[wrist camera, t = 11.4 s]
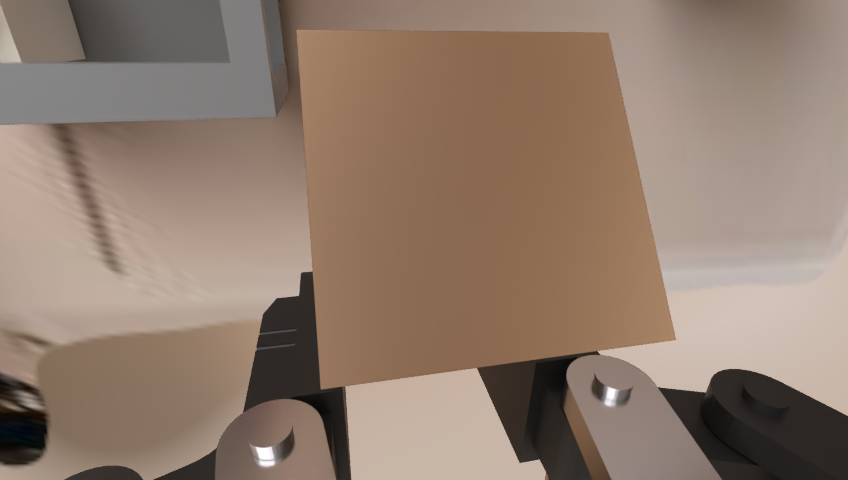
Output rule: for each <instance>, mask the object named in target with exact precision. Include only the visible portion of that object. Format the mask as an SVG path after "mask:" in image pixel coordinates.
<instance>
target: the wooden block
mask: <svg viewBox="0 0 848 480" xmlns="http://www.w3.org/2000/svg"><path fill="white" fill-rule="evenodd" d="M297 45H298V60H299V74H300V89H301V104H302V119H303V134H304V148H305V163H306V178H307V193H308V208H309V222H310V237H311V252H312V267H313V282H314V296H315V311H316V326H317V341H318V356H319V370H320V385H321V389H329V388H336V387H343V386H350V385H357V384H364V383H371V382H379V381H386V380H393V379H400V378H407V377H414V376H421V375H429V374H436V373H443V372H450V371H457V370H463V369H471V368H479V367H486V366H493V365H500V364H507V363H514V362H522V361H529V360H536V359H543V358H550V357H557V356H564V355H572V354H579V353H586V352H593V351H600V350H607V349H614V348H621V347H629V346H635V345H643V344H649V343H657V342H664V341H671V340H676V338H675V334H674V329H673V324H672V320H671V315H670V311H669V306H668V302H667V297H666V292H665V288H664V283H663V279H662V274H661V270H660V265H659V261H658V256H657V252H656V247H655V243H654V238H653V234H652V229H651V224H650V220H649V215H648V211H647V206H646V202H645V197H644V193H643V188H642V184H641V179H640V175H639V170H638V166H637V161H636V157H635V152H634V147H633V143H632V138H631V134H630V129H629V125H628V120H627V116H626V111H625V107H624V102H623V98H622V93H621V89H620V84H619V79H618V75H617V70H616V66H615V61H614V57H613V52H612V48H611V43H610V39H609V34H608V33H583V32H485V31H387V30H297Z"/></svg>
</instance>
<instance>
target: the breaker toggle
mask: <svg viewBox="0 0 848 480" xmlns="http://www.w3.org/2000/svg"><path fill="white" fill-rule="evenodd" d="M81 59H86V58H85V54H84V51H83V48H82V45H81V41H80V38H79V35H78V31H77V28H76V25H75V22H74V18H73V15H72V12H71V8H70V5H69V2H68V0H0V62H67V61H74V60H81Z"/></svg>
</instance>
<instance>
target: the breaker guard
mask: <svg viewBox="0 0 848 480" xmlns="http://www.w3.org/2000/svg"><path fill="white" fill-rule="evenodd" d="M68 2H69V5H70V8H71V12H72V15H73V18H74V22H75V25H76V28H77V31H78V35H79V38H80V41H81V45H82V48H83V51H84V54H85V58H86V59H81V60H74V61H67V62H0V125H15V124H52V123H89V122H126V121H163V120H199V119H236V118H273V117H277V115H278V113H279V111H280V109H281V107H282V105H283V102H284V100H285V98H286V96H287V94H288V92H289V85H288V76H287V68H286V59H285V51H284V43H283V34H282V26H281V18H280V9H279V1H278V0H68Z"/></svg>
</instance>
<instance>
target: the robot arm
mask: <svg viewBox="0 0 848 480" xmlns="http://www.w3.org/2000/svg"><path fill="white" fill-rule="evenodd" d="M477 369H478V371H479V373H480V376H481V378H482V380H483V382H484V384H485V387H486V389H487V391H488V393H489V396H490V398H491V400H492V402H493V404H494V407H495V409H496V411H497V413H498V416H499V418H500V420H501V422H502V424H503V427H504V429H505V431H506V433H507V436H508V438H509V440H510V442H511V444H512V447H513V449H514V451H515V453H516V456H517V458H518V460H519V462H520V463H522V462H528V461H533V460H538V459H540V461H541V463H542V465H543V467H544V469H545V471H546V476H545V480H848V416H846V415H844V414H843V413H841V412H839V411H837V410H835V409H833V408H831V407H829V406H827V405H825V404H823V403H821V402H819V401H817V400H815V399H813V398H811V397H809V396H807V395H805V394H803V393H801V392H799V391H797V390H795V389H793V388H791V387H789V386H787V385H785V384H784V383H782V382H779V381H777V380H775V379H773V378H771V377H768V376H765V375H762V374H759V373H756V372H752V371H747V370H740V369H728V370H722V371H719V372H717V373H716V374H714V376H713V377H712V379H711V381H710V384H709V386H708V389H707V391H706V393H704V392H695V391H684V390H676V389H666V388H659V387H657V386H656V384H655V383H654V382H653V381H652V379H651V378H650V377H649V376H648V375H647V374H645V373H644V372H643V371H641V370H640V369H639V368H637V367H635V366H634V365H632V364H630V363H628V362H626V361H623V360H620V359H618V358H614V357H610V356H604V355H600V354H599V353H598V351H593V352H586V353H579V354H572V355H564V356H557V357H550V358H543V359H536V360H529V361H522V362H514V363H507V364H500V365H493V366H486V367H479V368H477ZM345 391H346V390H345V386H343V387H336V388H329V389H321V385H320V370H319V356H318V341H317V326H316V311H315V296H314V282H313V272H303V273H301V281H300V293H299V296H296V297H286V298H277V299H276V300H275V301H274V302H273V303H272V305H271V306H270V307H269V308H268V309H267V310H266V312H265V313H264V314H263V318H262V323H261V328H260V335H259V337H258V342H257V351H256V352H255V357H254V362H253V367H252V372H251V377H250V382H249V386H248V391H247V396H246V402H245V406H244V411H243V413H242V414H241V415H240V416H238V417H237V418H236V419H235V420H234V421H233V422H232V423H231V424H230V425H229V426H228V427H227V429H226V430H225V431H224V433H223V434H222V436H221V438H220V440H219V443H218V446H217V448H216V449H215V450H214V451H212V452H211V453H210V454H208V455H206V456H205V457H203V458H201V459H200V460H198V461H196V462H194V463H191V464H189V465H187V466H185V467H183V468H180V469H178V470H176V471H173V472H171V473H168V474H166V475H164V476H161V477H159V478H157V479H154V480H351V471H350V470H351V468H350V453H349V438H348V423H347V406H346V392H345ZM65 480H143V479H142V478H141V476H140V475H139V474H138V473H137V472H135V471H134V470H132V469H129V468H127V467H122V466H103V467H97V468H93V469H89V470H86V471H83V472H80V473H78V474H75V475H73V476H71V477H69V478H67V479H65Z"/></svg>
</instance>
